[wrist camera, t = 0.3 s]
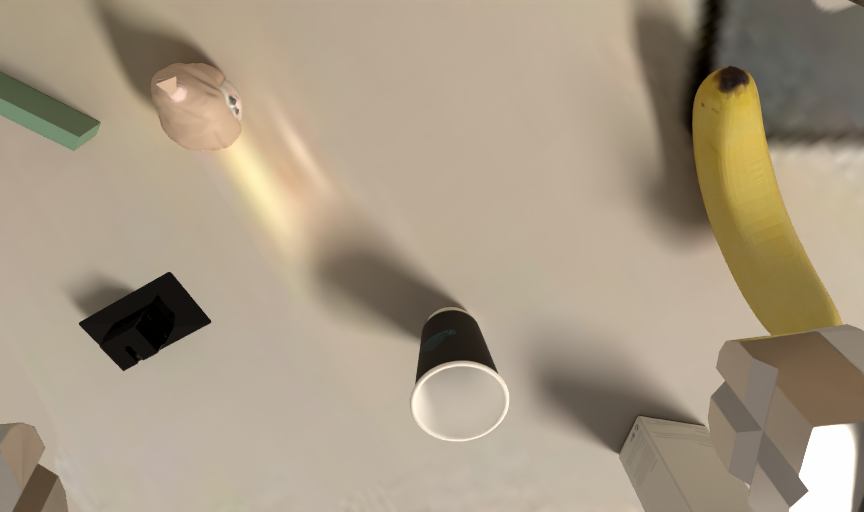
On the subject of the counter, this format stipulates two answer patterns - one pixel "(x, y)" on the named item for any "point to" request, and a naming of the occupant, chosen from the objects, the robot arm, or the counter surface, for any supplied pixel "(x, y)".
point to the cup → (858, 2)
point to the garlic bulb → (197, 106)
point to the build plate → (145, 321)
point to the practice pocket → (44, 114)
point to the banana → (753, 208)
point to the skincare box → (679, 469)
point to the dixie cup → (456, 379)
